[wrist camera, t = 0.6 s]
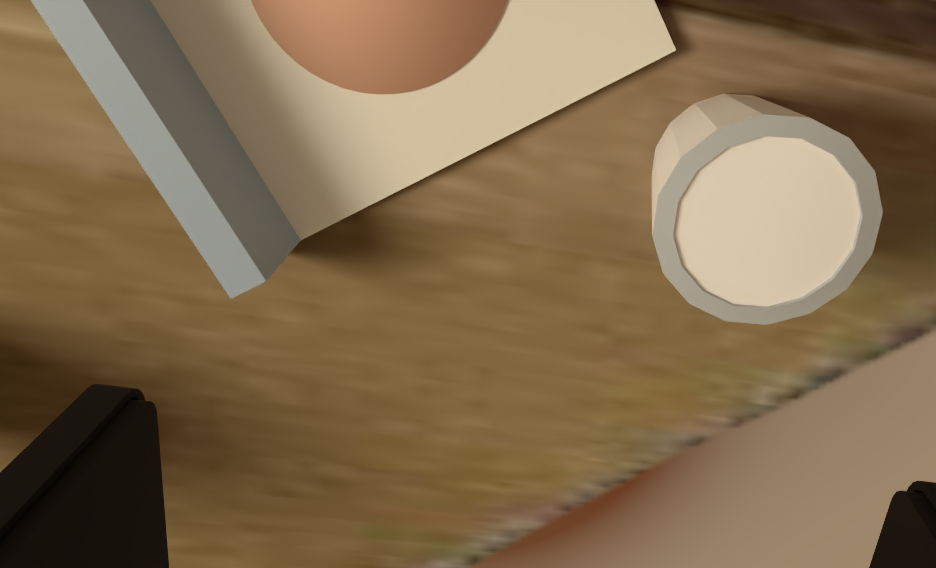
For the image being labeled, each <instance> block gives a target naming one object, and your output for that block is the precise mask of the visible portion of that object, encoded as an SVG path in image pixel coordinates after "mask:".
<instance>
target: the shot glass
mask: <svg viewBox="0 0 936 568" xmlns="http://www.w3.org/2000/svg"><path fill="white" fill-rule="evenodd" d="M882 214H883V210H882V205H881V200H880V194H879V189H878V184H877V179H876V173H875V171H874V169H873V168H872V167H871V165H870V164H869V163H868V162H867V160H866V159H865V158H864V156H863V155H862V154H861V152H860V151H859V150H858V148H857V147H856V146H855V144H854V143H853V142H852V141H851V139H850V138H849V137H847V136H845V135H843V134H841V133H839V132H837V131H835V130H833V129H831V128H829V127H827V126H825V125H823V124H821V123H819V122H818V121H816V120H814V119H812V118H810V117H807V116H805V115H802V114H799V113H797V112H794V111H792V110H789V109H787V108H784V107H782V106H779V105H777V104H774V103H772V102H769V101H766V100H764V99H761V98H759V97H756V96H752V95H737V94H721V95H718V96H715V97H712V98H709V99H706V100H703V101H699V102H696V103H694V104H693V105H691V106H690V107H689V108H688V109H686V110H685V111H684V112H683V113H681V114H680V115H679V116H678V117H676V118H675V119H674V120H673V121H671V122H670V124H669V126H668V127H667V129H666V131H665V133H664V134H663V136H662V138H661V139H660V141H659V143H658V145H657V146H656V149H655V156H654V163H653V171H652V237H653V240H654V244H655V247H656V251H657V254H658V257H659V261H660V264H661V268H662V271H663V274H664V275H665V276H666V278H667V279H668V280H669V281H670V282H671V283H672V284H673V286H674V287H675V288H676V289H677V290H678V291H679V293H680V294H681V295H682V296H683V297H684V298H685V299H686V301H687V302H688V303H689V304H691V305H693V306H695V307H697V308H699V309H701V310H703V311H705V312H708V313H710V314H712V315H714V316H716V317H718V318H720V319H722V320H724V321H730V322H741V323H753V324H765V325H768V324H772V323H776V322H780V321H784V320H787V319H791V318H795V317H799V316H803V315H807V314H810V313H812V312H813V311H815V310H816V309H818V308H819V307H821V306H822V305H824V304H825V303H827V302H828V301H830V300H831V299H833V298H834V297H836V296H837V295H839V294H840V293H842V292H843V291H845V290H846V289H847V288H848V287H849V285H850V284H851V283H852V281H853V280H854V278H855V277H856V276H857V274H858V273H859V272H860V270H861V269H862V268H863V266H864V265H865V263H866V262H867V261H868V259H869V258H870V257H871V255H872V254H873V250H874V246H875V242H876V238H877V234H878V230H879V226H880V222H881V218H882Z"/></svg>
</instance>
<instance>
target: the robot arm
mask: <svg viewBox="0 0 936 568" xmlns="http://www.w3.org/2000/svg"><path fill="white" fill-rule="evenodd" d="M0 568H169V561H168V548H167V535H166V522H165V510H164V497H163V484H162V471H161V459H160V446H159V433H158V420H157V411H156V407H155V405H154V403H152V402H150V401H145V398H144V395H143V393H142V392H141V391H140V390H139V389H135V388H126V387H118V386H109V385H101V384H94V385H92V386H90V387H89V388H87V389H86V390H85V391H84V392H83V393H82V394H81V395H80V396H79V397H78V398H77V399H76V400H75V401H74V402H73V403H72V404H71V405H70V406H69V407H68V408H67V409H66V410H65V411H64V412H63V413H62V414H61V415H59V416H58V417H57V418H56V419H55V420H54V421H53V422H52V423H51V424H50V425H49V426H48V427H47V428H46V429H45V430H44V431H43V432H42V433H41V434H40V435H39V436H38V437H37V438H36V439H35V440H34V441H33V442H32V443H30V444H29V445H28V446H27V447H26V448H25V449H24V450H23V451H22V452H21V453H20V454H19V455H18V456H17V457H16V458H15V459H14V460H13V461H12V462H11V463H10V464H9V465H8V466H7V467H6V468H5V469H4V470H2V471H1V472H0ZM869 568H936V483H933V482H924V481H916V482H913V483H912V484H911V485H910V487H908V490H907V491H898V492H896V493H895V495H894V496H893V498H892V500H891V503H890V506H889V509H888V512H887V515H886V518H885V521H884V524H883V527H882V530H881V533H880V536H879V539H878V543H877V546H876V549H875V552H874V555H873V558H872V561H871V564H870V567H869Z"/></svg>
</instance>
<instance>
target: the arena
mask: <svg viewBox="0 0 936 568" xmlns="http://www.w3.org/2000/svg"><path fill="white" fill-rule="evenodd" d="M31 2H32V3H33V5H34V6H35V8H36V9H37V11H38V12H39V14H40V15H41V17H42V18H43V20H44V21H45V23H46V24H47V26H48V27H49V29H50V30H51V32H52V33H53V35H54V36H55V37H56V39H57V40H58V42H59V43H60V45H61V46H62V48H63V49H64V51H65V52H66V54H67V55H68V57H69V58H70V60H71V61H72V63H73V64H74V66H75V67H76V69H77V70H78V72H79V73H80V75H81V76H82V78H83V79H84V81H85V82H86V84H87V85H88V87H89V88H90V90H91V91H92V93H93V94H94V96H95V97H96V99H97V100H98V102H99V103H100V105H101V106H102V108H103V109H104V110H105V112H106V113H107V115H108V116H109V118H110V119H111V121H112V122H113V124H114V125H115V127H116V128H117V130H118V131H119V133H120V134H121V136H122V137H123V139H124V140H125V142H126V143H127V145H128V146H129V148H130V149H131V151H132V152H133V154H134V155H135V157H136V158H137V160H138V161H139V163H140V164H141V166H142V167H143V169H144V170H145V172H146V173H147V175H148V176H149V178H150V179H151V180H152V182H153V183H154V185H155V186H156V188H157V189H158V191H159V192H160V194H161V195H162V197H163V198H164V200H165V201H166V203H167V204H168V206H169V207H170V209H171V210H172V212H173V213H174V215H175V216H176V218H177V219H178V221H179V222H180V224H181V225H182V227H183V228H184V230H185V231H186V233H187V234H188V236H189V237H190V239H191V240H192V242H193V243H194V245H195V246H196V248H197V249H198V250H199V252H200V253H201V255H202V256H203V258H204V259H205V261H206V262H207V264H208V265H209V267H210V268H211V270H212V271H213V273H214V274H215V276H216V277H217V279H218V280H219V282H220V283H221V285H222V286H223V288H224V289H225V291H226V292H227V294H228V295H229V297H230V298H233V297H235V296H237V295H239V294H241V293H243V292H245V291H247V290H249V289H251V288H253V287H255V286H257V285H259V284H261V283H264V282H266V281H267V280H268V278H269V277H270V276H271V275H272V274H273V272H274V271H275V270H276V269H277V268H278V267H279V265H280V264H281V263H282V262H283V261H284V260H285V258H286V257H287V256H288V255H289V254H290V252H291V251H292V250H293V249H294V248H295V247H296V245H297V244H298V243H299V242H300V241H301V240H303V239H304V238H306V237H308V236H310V235H312V234H314V233H316V232H318V231H320V230H322V229H324V228H326V227H328V226H330V225H332V224H334V223H336V222H338V221H340V220H342V219H344V218H346V217H348V216H350V215H352V214H354V213H356V212H358V211H360V210H362V209H364V208H366V207H368V206H370V205H372V204H374V203H376V202H378V201H380V200H382V199H384V198H386V197H387V196H389V195H391V194H393V193H395V192H397V191H399V190H401V189H403V188H405V187H407V186H409V185H411V184H413V183H415V182H417V181H419V180H421V179H423V178H425V177H427V176H429V175H431V174H433V173H435V172H437V171H439V170H441V169H443V168H445V167H447V166H449V165H451V164H453V163H455V162H457V161H459V160H461V159H463V158H465V157H467V156H469V155H471V154H472V153H474V152H476V151H478V150H480V149H482V148H484V147H486V146H488V145H490V144H492V143H494V142H496V141H498V140H500V139H502V138H504V137H506V136H508V135H510V134H512V133H514V132H516V131H518V130H520V129H522V128H524V127H526V126H528V125H530V124H532V123H534V122H536V121H538V120H540V119H542V118H544V117H546V116H548V115H550V114H552V113H554V112H555V111H557V110H559V109H561V108H563V107H565V106H567V105H569V104H571V103H573V102H575V101H577V100H579V99H581V98H583V97H585V96H587V95H589V94H591V93H593V92H595V91H597V90H599V89H601V88H603V87H605V86H607V85H609V84H611V83H613V82H615V81H617V80H619V79H621V78H623V77H625V76H627V75H629V74H631V73H633V72H635V71H637V70H638V69H640V68H642V67H644V66H646V65H648V64H650V63H652V62H654V61H656V60H658V59H660V58H662V57H664V56H666V55H668V54H670V53H672V52H674V51H676V49H675V46H674V44H673V42H672V39H671V37H670V35H669V33H668V30H667V28H666V26H665V23H664V21H663V19H662V17H661V14H660V12H659V10H658V8H657V5H656V3H655V1H654V0H31Z"/></svg>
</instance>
